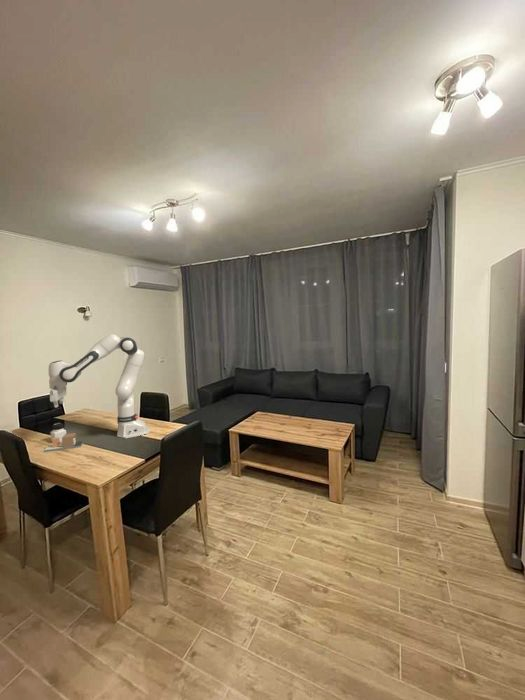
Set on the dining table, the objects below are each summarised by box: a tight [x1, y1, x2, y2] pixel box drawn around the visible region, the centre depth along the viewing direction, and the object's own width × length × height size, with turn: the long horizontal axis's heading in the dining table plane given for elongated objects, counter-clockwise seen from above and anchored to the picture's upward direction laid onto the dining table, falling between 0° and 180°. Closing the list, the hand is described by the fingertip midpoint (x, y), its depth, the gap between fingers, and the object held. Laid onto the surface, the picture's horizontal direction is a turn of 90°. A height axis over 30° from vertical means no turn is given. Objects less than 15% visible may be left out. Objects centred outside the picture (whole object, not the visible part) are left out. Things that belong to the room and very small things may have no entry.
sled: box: [51, 437, 77, 447], centre depth 190 cm, size 12×4×5 cm, turn 109°
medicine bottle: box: [50, 422, 67, 443], centre depth 200 cm, size 7×7×12 cm
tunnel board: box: [43, 432, 84, 453], centre depth 190 cm, size 20×8×8 cm, turn 109°
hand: (59, 405), depth 193 cm, fingers open, 8 cm apart
